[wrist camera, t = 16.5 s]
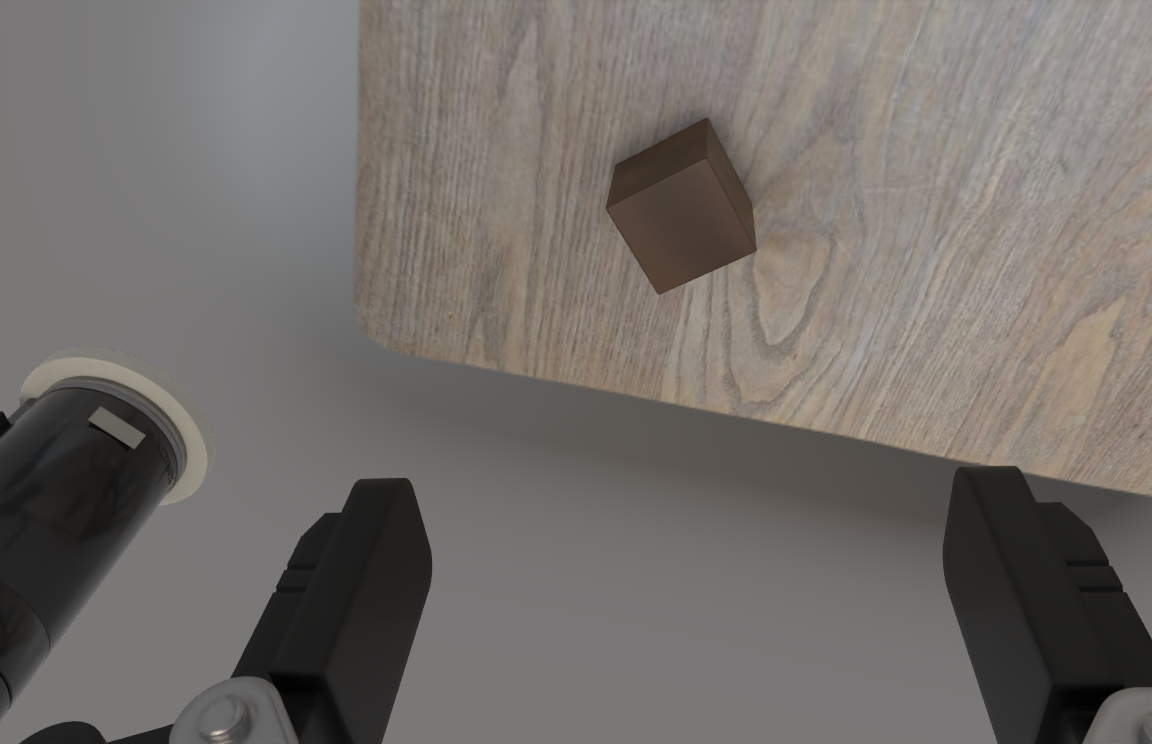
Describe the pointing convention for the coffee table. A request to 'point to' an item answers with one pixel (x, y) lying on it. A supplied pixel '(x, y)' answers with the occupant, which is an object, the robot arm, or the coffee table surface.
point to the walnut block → (682, 208)
